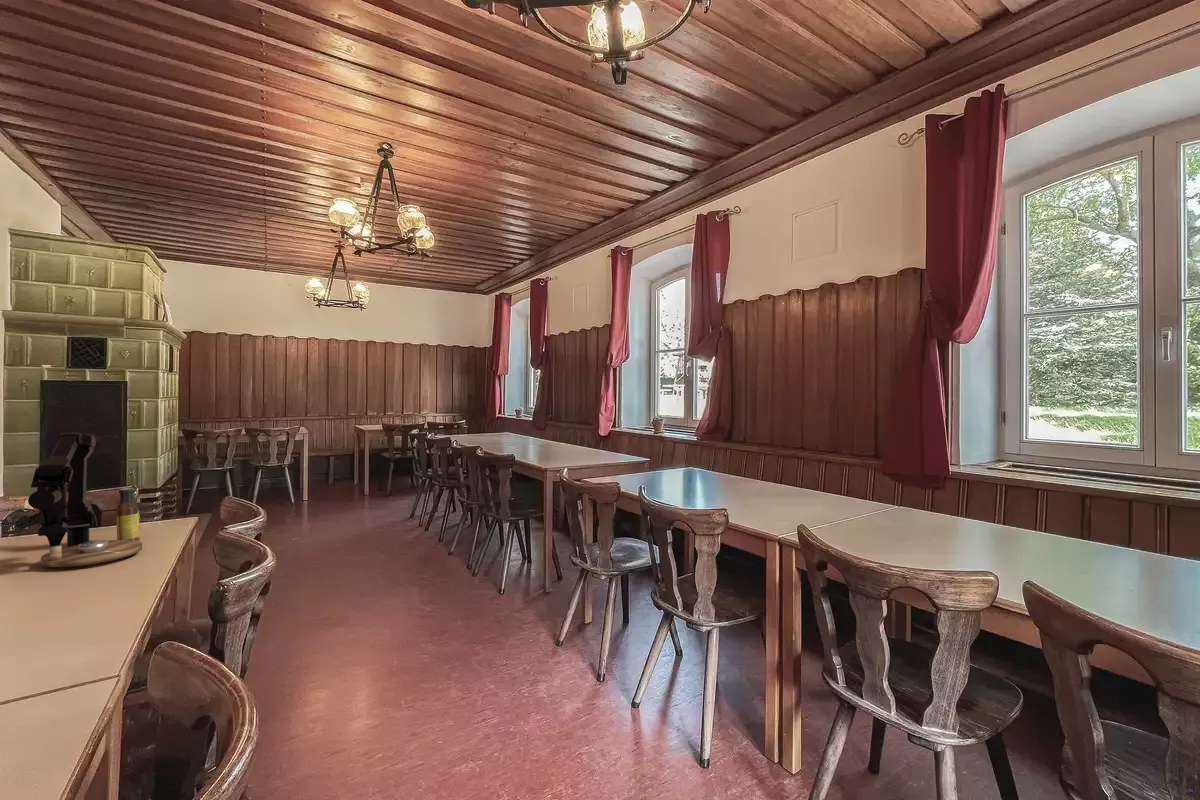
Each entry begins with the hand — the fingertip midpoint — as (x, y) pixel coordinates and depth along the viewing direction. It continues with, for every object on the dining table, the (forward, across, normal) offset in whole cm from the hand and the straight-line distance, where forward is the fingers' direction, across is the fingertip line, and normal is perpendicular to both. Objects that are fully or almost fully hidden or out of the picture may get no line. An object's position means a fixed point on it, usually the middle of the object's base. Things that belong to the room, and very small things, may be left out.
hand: (54, 550), depth 167 cm
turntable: (+3, +1, +9) cm, 10 cm away
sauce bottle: (+5, -16, +18) cm, 24 cm away
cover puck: (+1, +2, +9) cm, 9 cm away
